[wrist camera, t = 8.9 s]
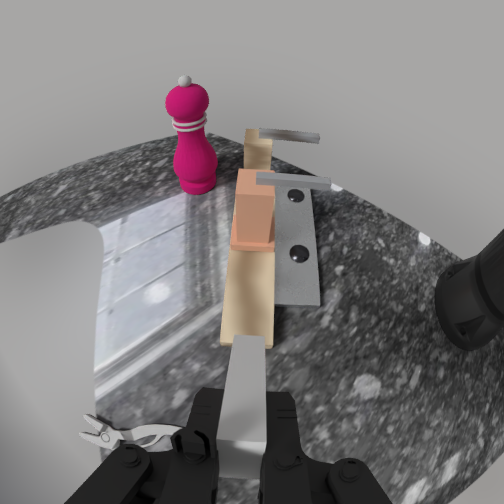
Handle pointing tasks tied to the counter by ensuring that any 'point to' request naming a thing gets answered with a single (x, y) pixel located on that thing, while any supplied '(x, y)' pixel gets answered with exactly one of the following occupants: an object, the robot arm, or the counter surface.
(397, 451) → the counter surface
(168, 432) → the pliers
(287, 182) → the slide leg
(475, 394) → the counter surface
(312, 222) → the hole plate
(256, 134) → the rail
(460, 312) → the robot arm
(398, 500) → the counter surface
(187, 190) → the pepper mill
